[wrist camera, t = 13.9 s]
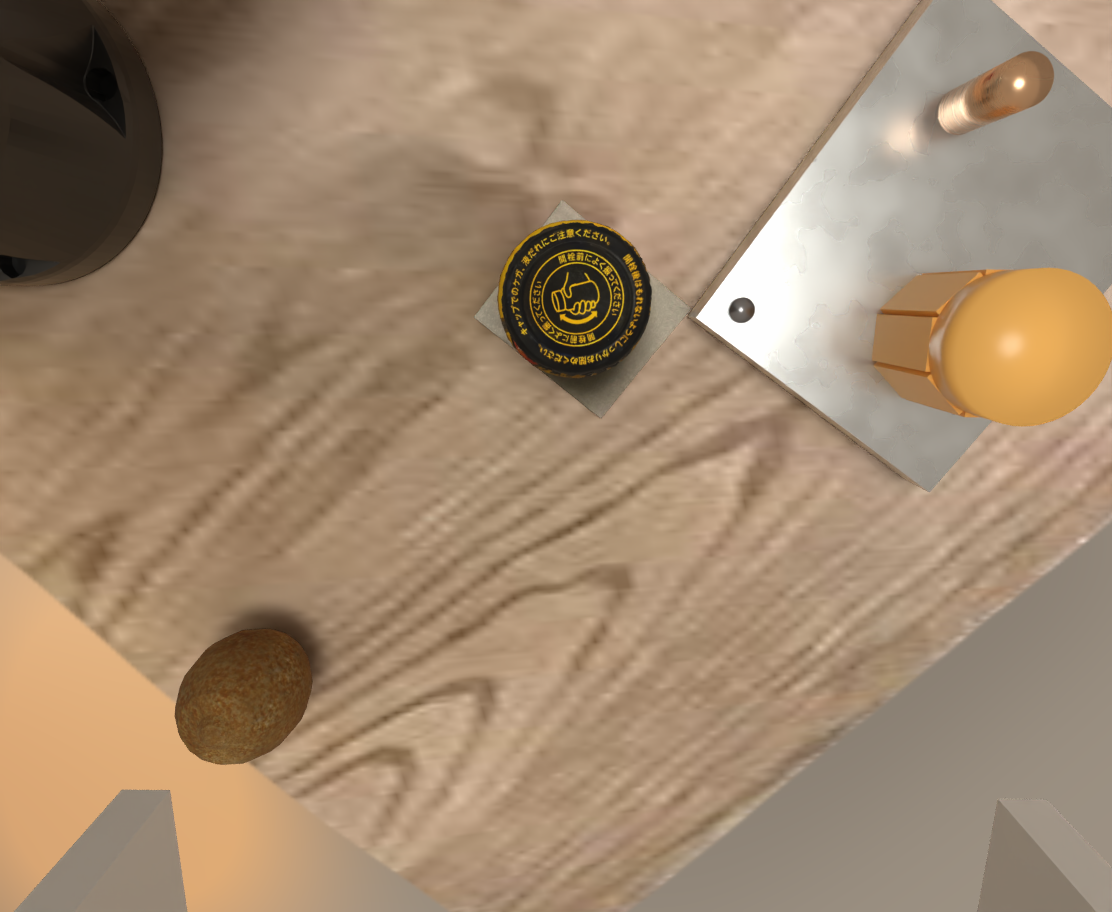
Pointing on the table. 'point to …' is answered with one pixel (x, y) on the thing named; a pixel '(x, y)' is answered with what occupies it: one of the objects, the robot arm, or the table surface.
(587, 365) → the condiment
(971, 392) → the wire nut
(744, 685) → the table surface
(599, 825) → the table surface
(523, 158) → the table surface
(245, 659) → the fruit
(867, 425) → the plate
